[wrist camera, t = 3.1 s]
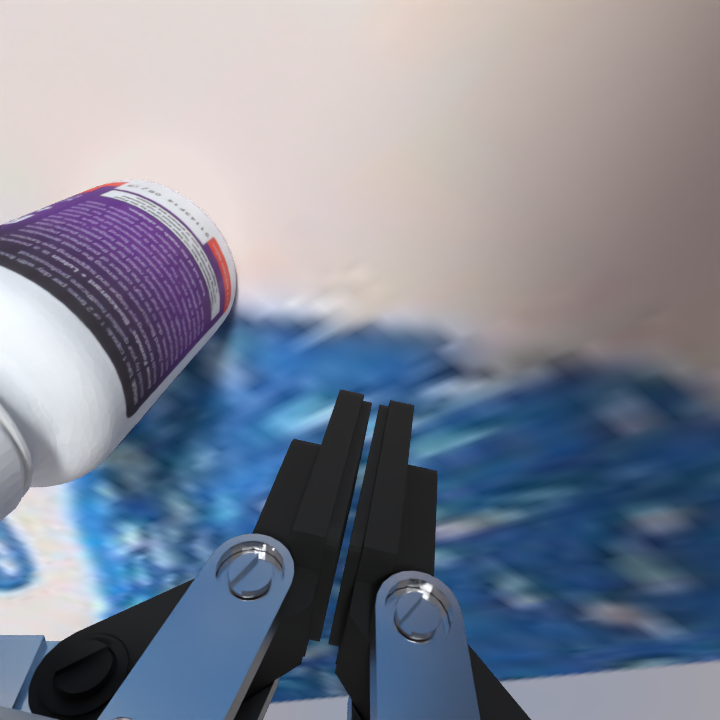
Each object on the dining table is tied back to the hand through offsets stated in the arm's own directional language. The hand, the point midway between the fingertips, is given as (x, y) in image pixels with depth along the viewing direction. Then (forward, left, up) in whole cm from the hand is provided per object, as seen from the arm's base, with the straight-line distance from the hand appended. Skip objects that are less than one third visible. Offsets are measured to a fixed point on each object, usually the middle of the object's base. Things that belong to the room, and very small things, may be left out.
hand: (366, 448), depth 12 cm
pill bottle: (-1, -8, -6) cm, 10 cm away
